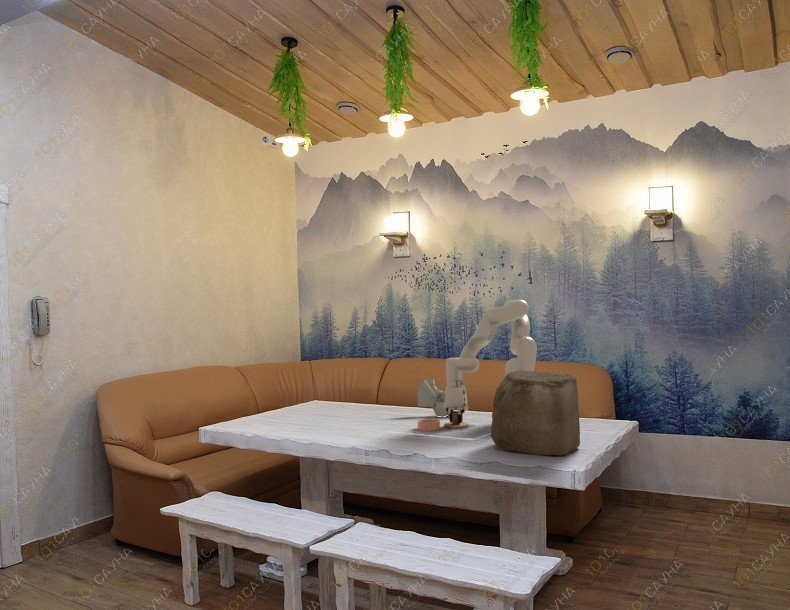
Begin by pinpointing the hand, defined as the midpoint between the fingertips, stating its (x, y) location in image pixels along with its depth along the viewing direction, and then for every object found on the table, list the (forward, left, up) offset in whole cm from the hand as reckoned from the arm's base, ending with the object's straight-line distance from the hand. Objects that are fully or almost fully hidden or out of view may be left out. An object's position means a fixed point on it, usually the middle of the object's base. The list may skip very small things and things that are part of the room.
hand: (456, 421), depth 303 cm
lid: (0, 0, -2) cm, 2 cm away
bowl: (+9, +10, -3) cm, 14 cm away
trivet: (0, 0, -3) cm, 3 cm away
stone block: (-49, +25, -3) cm, 55 cm away
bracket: (+23, -26, -3) cm, 35 cm away
